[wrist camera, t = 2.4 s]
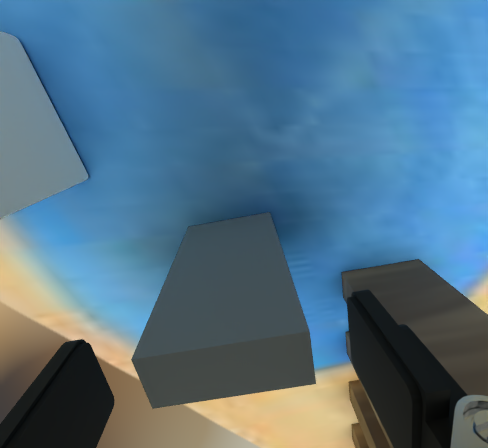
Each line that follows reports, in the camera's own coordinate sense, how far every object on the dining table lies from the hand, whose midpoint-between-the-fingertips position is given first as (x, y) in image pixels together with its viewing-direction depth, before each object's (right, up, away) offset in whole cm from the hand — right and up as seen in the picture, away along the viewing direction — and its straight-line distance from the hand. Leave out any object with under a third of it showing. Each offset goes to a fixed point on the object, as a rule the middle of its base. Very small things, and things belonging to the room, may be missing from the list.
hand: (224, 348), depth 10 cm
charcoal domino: (0, +4, +7) cm, 8 cm away
